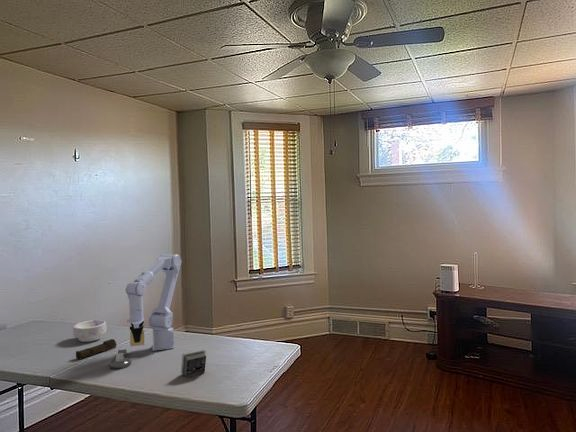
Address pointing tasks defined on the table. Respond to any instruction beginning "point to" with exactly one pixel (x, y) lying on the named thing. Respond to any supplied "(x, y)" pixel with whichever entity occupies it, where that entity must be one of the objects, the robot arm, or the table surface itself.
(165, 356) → the table surface
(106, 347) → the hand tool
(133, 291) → the robot arm
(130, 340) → the socket
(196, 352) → the electrical switch
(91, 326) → the white bowl
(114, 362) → the ratchet
